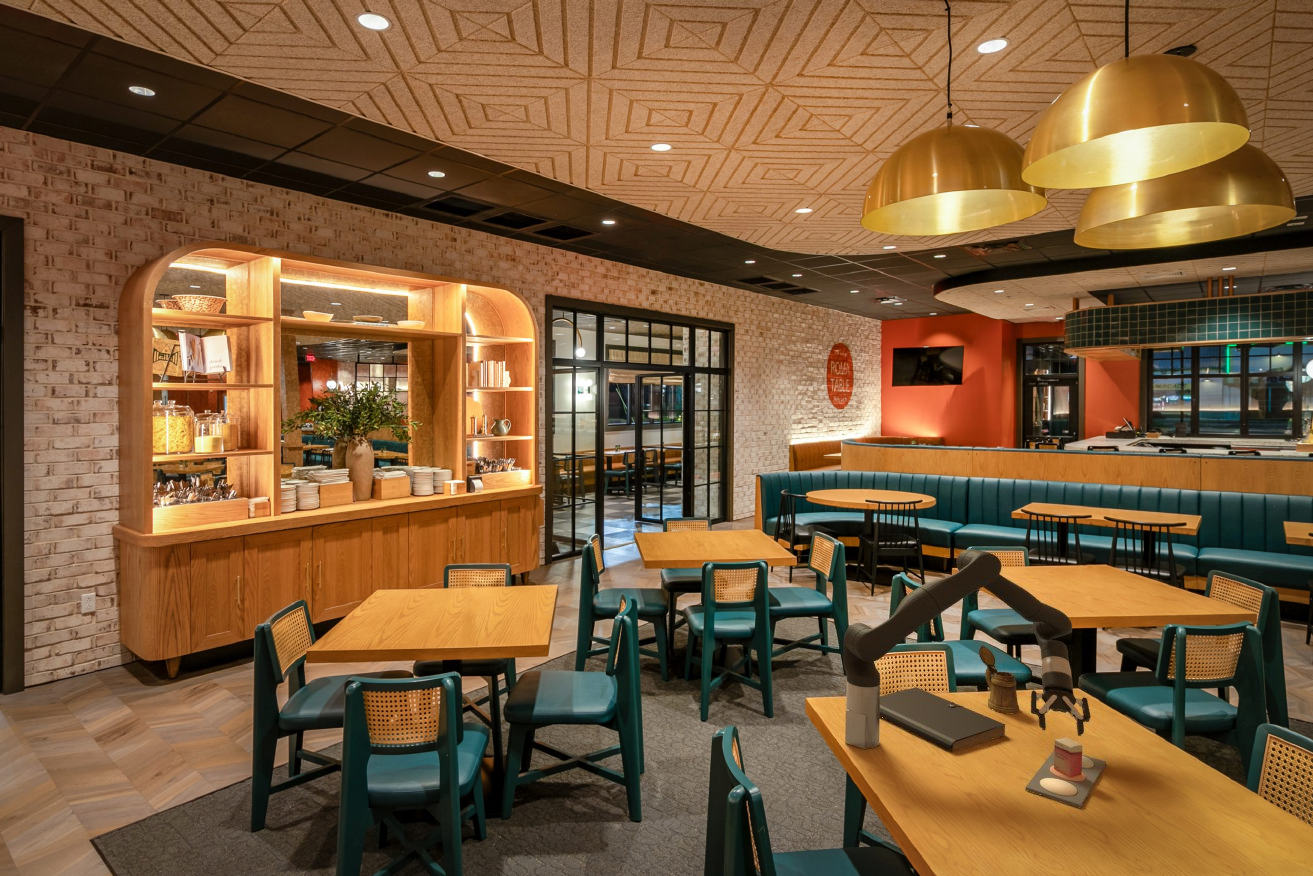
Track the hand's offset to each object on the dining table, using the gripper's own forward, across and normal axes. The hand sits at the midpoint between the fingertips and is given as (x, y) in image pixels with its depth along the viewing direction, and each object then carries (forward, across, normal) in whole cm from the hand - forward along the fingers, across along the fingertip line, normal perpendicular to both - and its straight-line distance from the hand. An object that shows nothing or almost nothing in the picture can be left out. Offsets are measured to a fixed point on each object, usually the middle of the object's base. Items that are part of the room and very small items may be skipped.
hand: (1061, 732), depth 190 cm
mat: (+13, 0, -2) cm, 13 cm away
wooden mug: (-18, -14, +29) cm, 37 cm away
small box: (+12, 0, -3) cm, 12 cm away
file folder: (-2, -33, +14) cm, 36 cm away
